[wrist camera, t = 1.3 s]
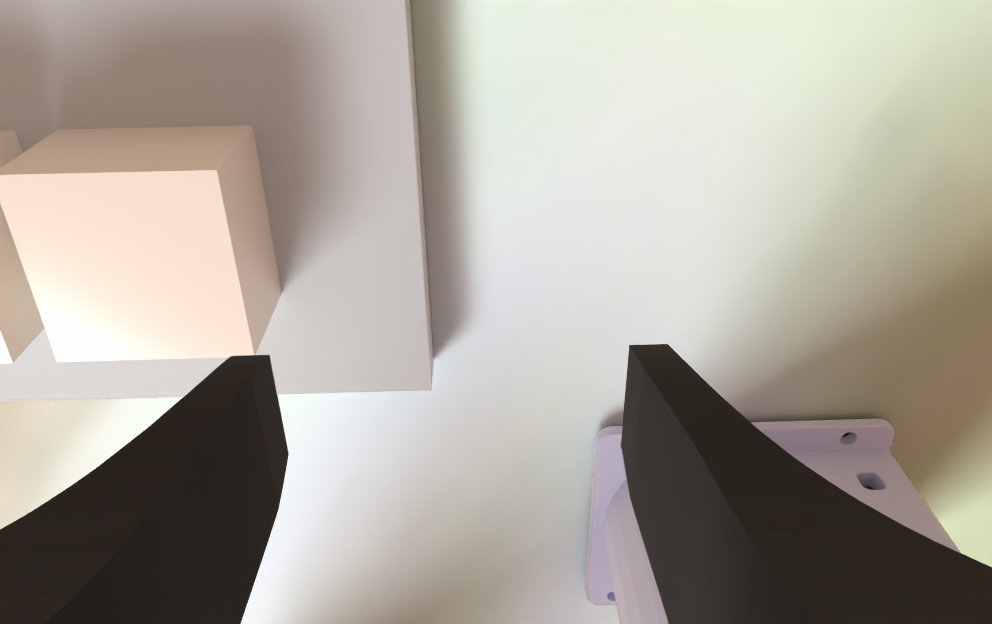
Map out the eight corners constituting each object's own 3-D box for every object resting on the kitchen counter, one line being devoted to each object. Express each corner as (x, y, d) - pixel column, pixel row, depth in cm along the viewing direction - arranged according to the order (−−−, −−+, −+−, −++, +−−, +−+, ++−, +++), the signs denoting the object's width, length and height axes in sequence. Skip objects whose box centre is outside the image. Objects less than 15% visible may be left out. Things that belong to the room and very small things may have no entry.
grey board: (407, -37, 18) (402, -29, 17) (433, 360, 24) (431, 389, 22) (-299, -24, 18) (-360, -15, 16) (-105, 374, 23) (-139, 405, 22)
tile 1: (252, 125, 18) (216, 170, 16) (281, 293, 21) (254, 356, 18) (58, 129, 18) (-10, 174, 16) (109, 297, 21) (57, 361, 18)
